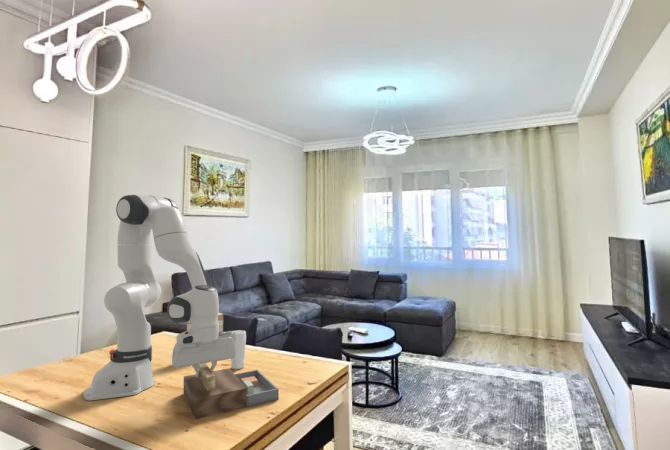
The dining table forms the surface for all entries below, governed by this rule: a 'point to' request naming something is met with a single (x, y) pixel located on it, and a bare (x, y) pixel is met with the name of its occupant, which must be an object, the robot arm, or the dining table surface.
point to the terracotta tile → (251, 380)
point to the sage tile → (248, 387)
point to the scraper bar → (206, 376)
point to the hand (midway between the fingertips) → (204, 375)
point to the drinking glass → (239, 350)
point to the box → (260, 389)
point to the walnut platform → (215, 394)
